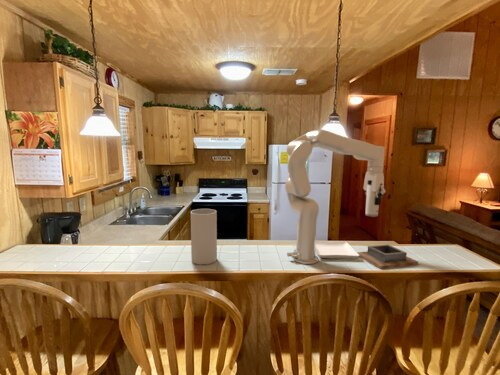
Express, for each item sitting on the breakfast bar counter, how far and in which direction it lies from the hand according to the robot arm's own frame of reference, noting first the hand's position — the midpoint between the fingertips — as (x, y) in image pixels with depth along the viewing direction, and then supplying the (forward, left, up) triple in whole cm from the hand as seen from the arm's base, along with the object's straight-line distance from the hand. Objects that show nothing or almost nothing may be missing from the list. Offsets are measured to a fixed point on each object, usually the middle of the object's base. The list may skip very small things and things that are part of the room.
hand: (372, 203), depth 145 cm
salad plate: (-19, +4, -28) cm, 34 cm away
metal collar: (+2, -11, -26) cm, 28 cm away
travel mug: (0, 0, -7) cm, 7 cm away
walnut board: (+2, -11, -27) cm, 29 cm away
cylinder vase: (-88, +10, -28) cm, 93 cm away
